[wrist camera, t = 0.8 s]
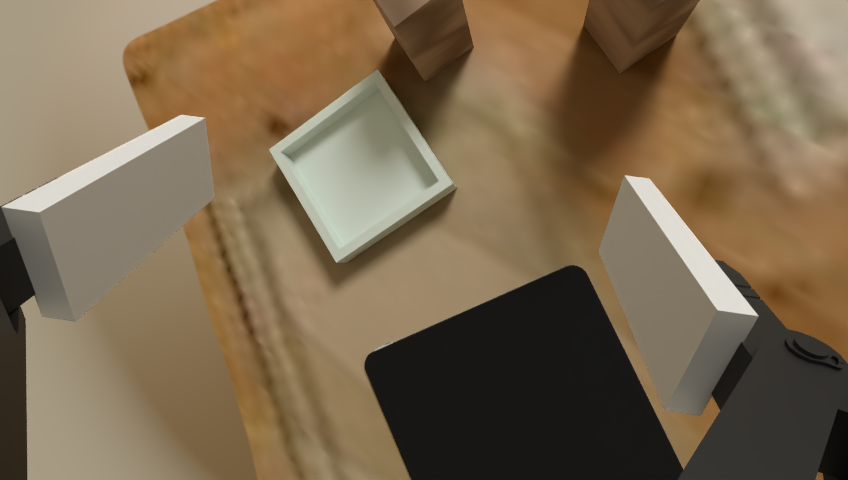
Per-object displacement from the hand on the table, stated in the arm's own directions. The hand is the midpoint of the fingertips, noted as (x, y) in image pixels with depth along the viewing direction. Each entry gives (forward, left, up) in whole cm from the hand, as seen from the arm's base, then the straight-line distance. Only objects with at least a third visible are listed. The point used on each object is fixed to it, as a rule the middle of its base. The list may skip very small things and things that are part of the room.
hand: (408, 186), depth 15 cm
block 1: (-6, -16, -25) cm, 30 cm away
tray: (+5, -10, -25) cm, 28 cm away
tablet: (+6, +18, -26) cm, 32 cm away
